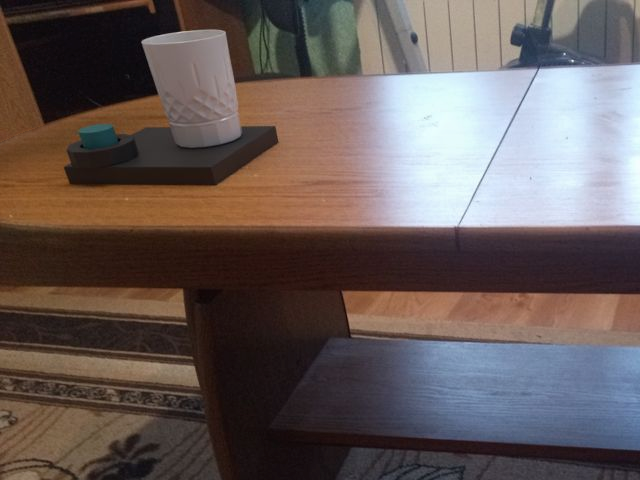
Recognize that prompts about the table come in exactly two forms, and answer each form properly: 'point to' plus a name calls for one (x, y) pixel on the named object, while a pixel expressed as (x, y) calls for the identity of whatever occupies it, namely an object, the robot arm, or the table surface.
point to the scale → (165, 159)
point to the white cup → (195, 86)
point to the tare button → (98, 136)
